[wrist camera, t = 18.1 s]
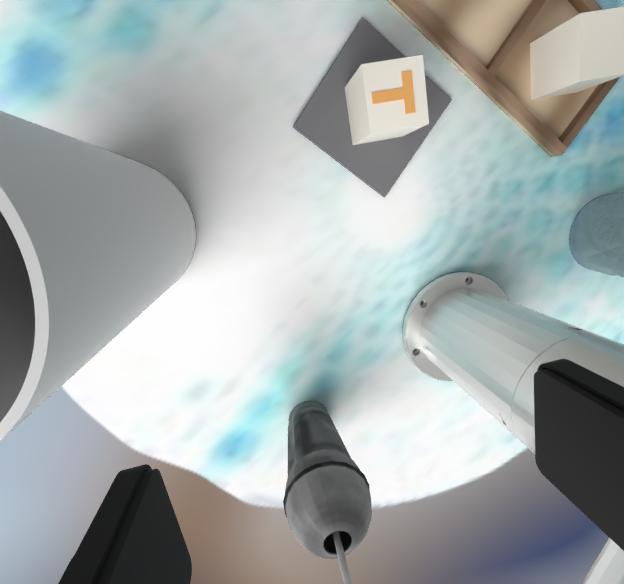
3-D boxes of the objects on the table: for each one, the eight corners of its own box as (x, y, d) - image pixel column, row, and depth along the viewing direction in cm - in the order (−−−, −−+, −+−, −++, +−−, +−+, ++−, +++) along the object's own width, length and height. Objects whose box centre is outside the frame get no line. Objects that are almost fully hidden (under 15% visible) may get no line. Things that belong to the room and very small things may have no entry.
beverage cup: (331, 381, 40) (400, 547, 20) (346, 435, 41) (421, 633, 22) (268, 401, 39) (278, 590, 20) (286, 455, 41) (310, 675, 22)
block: (529, 43, 34) (580, 13, 28) (577, 35, 34) (635, 4, 29) (531, 100, 35) (579, 81, 30) (576, 92, 36) (631, 72, 30)
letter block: (344, 87, 32) (361, 63, 27) (397, 78, 33) (424, 53, 27) (352, 145, 34) (370, 133, 28) (403, 136, 34) (430, 123, 29)
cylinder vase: (205, 175, 33) (56, 89, 9) (189, 304, 35) (43, 514, 11) (55, 145, 30) (-711, -85, 6) (51, 285, 33) (-506, 499, 9)
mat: (449, 100, 34) (451, 99, 34) (383, 197, 36) (385, 196, 35) (361, 19, 32) (362, 17, 31) (292, 127, 33) (293, 126, 32)
